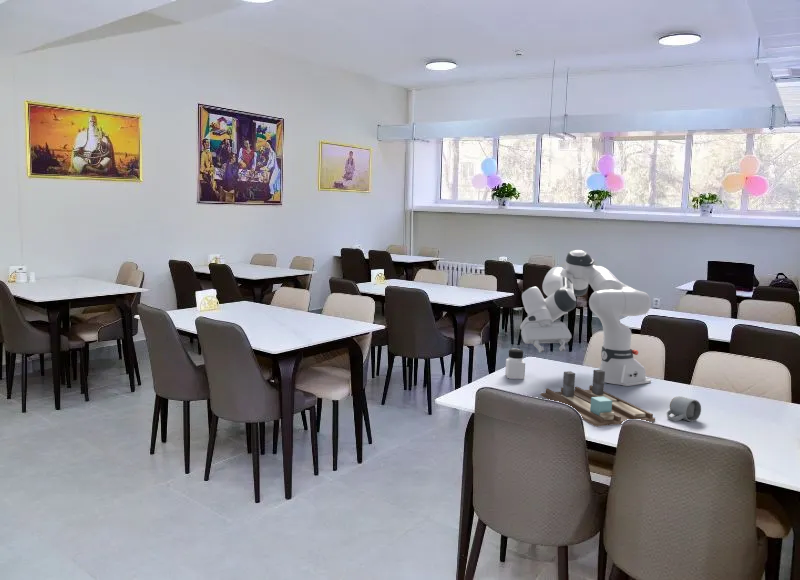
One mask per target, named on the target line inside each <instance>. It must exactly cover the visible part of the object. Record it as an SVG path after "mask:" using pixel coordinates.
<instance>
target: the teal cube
mask: <svg viewBox="0 0 800 580" xmlns="http://www.w3.org/2000/svg"><path fill="white" fill-rule="evenodd" d="M590 411H591V412H593V413H595V414H597V415H599V416H600V413H604V412H611V411H612V400H610V399H608V398H606V397H604V396H602V397H591V407H590Z"/></svg>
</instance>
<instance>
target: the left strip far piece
mask: <svg viewBox="0 0 800 580" xmlns="http://www.w3.org/2000/svg"><path fill="white" fill-rule="evenodd" d="M612 404H614V405H616V406H618V407H620V408H622V409H624V410H626V411H628V412H630V413H632V414H634V415H636V417H645V416H646V413H644V412H642V411H640V410H638V409H635V408H633V407H631V406H629V405H627V404H625V403H623V402H621V401H619V402H612Z"/></svg>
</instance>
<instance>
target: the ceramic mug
mask: <svg viewBox="0 0 800 580" xmlns="http://www.w3.org/2000/svg"><path fill="white" fill-rule="evenodd" d="M701 412H702V405H701V403H700V402H699V401H698V400H696V399H693V398H688V397H685V396H673V398H672V399H671V401H670V403H669V410H668V411H667V412H666V417H667V419H668V420H670V421H672V422H677V421H680V420H681V421H682V420H685V421H688V422H690V423H691V422H696V421H697V420H699V418H700V415H701ZM671 415H674V416H671Z"/></svg>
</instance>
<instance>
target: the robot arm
mask: <svg viewBox="0 0 800 580" xmlns="http://www.w3.org/2000/svg"><path fill="white" fill-rule="evenodd" d="M594 263H595V260H594V259H593V258H592V256H591V255H590V254H589V253H588V252H587V251H584V250H583V249H575V250H574V249H573V250H571V251H569V252H568V253H567V255H566V257H565V265H564V267H565V268H564V267H561V266H554V267H552V268H550V270H548V272H546V275H545V276H544V279H543V281H542V287H541V288H542V291H543V293H544V295H546V296H547V297H546V298H544V296H543V293H542V292H541V290H540V289H539V287H538V286H532V287H528V288H527V289H525V290H524V291H523V292H522V293H521V300H522V304H523V307H524V310H525V312H526V313H527V317H525V318H524V320H522V322H521V323H520V326H519V329H520V330H521V331H520V336H521V339H522V341H523V343H525V344H527V345H529V344H531V345H533V346H534V347H535V348H536V349H537V350H538V353H544V352H545V348H544V346H541V344H556V343H557V344H558V343H559V345H560V346H559V348H558V349H559V351H560V352H565V351H566V347H565V345H566V343H569V342H570V340H571V339H572V338H573V337H572V333H571V332H570V330H569V328H568V326H567V325H566V323H565V322H564V321H563V322H562V321H561V320H560V321H559V320H558V321H557V319H559V318H561V317H562V316H564V315H565V314H567V313H568V312H571V311H573V310H574V309H575V308H576V306H577V297H582V296H584V295H586V294H587V292H588V289H589V285H590V287H591V289H592V290H593V292H592V293H591V295H590V297H589V300H588V305H589V309H590V311H591V312H592V313H593V314H595V315H596V316H597V317H598V319H599V320H600V323H601V325H602V332H603V333H602V334H603V342H602V344H603V345H602V346H601V351H600V352H601V363H600V366H599V370H603V371H605V379H604V383H608V384H612V385H621V386H624V387H625V386H626V387H629V386H637V385H643V384H651V383H652V380H651V378H649V377H647V375H646V368H645V366H644V365H642V363H640V362H639V361H638V360H637V359H636V358H635V357H634V356H638V355H639V350H636V349H632V348H631V346H632V345H631V344H632V331H631V329H630V328H629V327H628V326H627V325H626V324H623V323H621V319H620V317H638V316H642V315H646V314H648V313H649V311H650V309H651V307H652V300H651V297H650V295H649V294H648V293H647V292H645V291H642V290H638V289H636V288H633V287H632V286H629V285H627V284H625V283H623V282H621V280H619V279H618V278H617V276H615V275H614V273H612V272H611V271H610V270H609V269H608V268H606V267H605V266H602V265H594Z"/></svg>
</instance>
